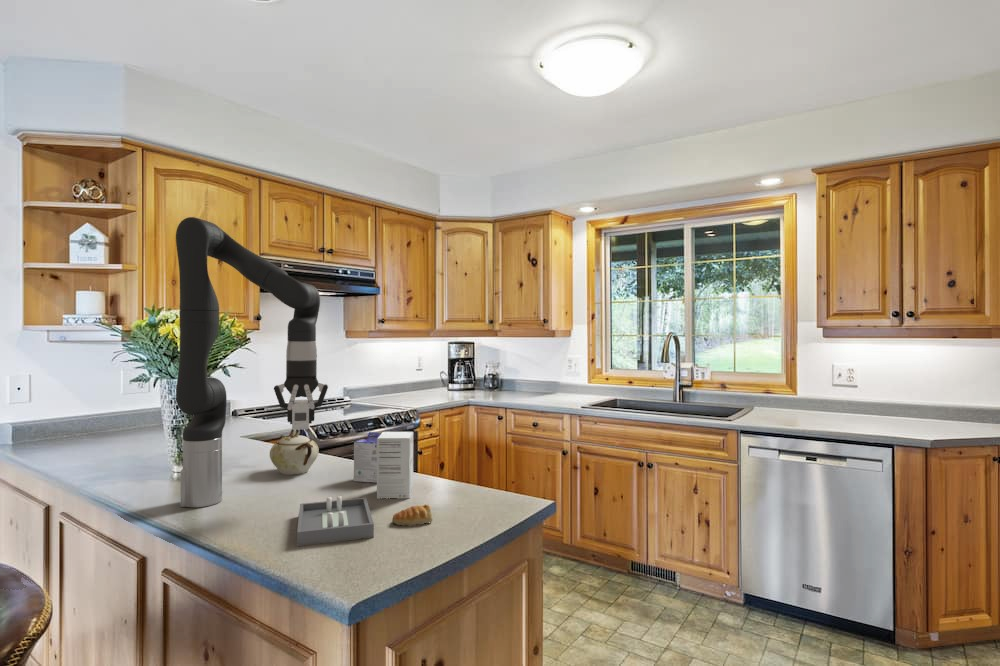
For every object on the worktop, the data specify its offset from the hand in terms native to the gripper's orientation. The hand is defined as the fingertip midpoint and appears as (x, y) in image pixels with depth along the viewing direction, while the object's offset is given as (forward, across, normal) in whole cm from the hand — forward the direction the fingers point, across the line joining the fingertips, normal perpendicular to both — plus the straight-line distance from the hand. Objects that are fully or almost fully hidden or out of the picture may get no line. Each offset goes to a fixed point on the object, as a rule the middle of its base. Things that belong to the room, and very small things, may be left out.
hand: (301, 423), depth 143 cm
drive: (+1, 0, 0) cm, 1 cm away
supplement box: (+22, +25, +2) cm, 33 cm away
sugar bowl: (+22, -3, +36) cm, 42 cm away
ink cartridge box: (+22, +20, +18) cm, 35 cm away
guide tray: (+22, +8, -19) cm, 30 cm away
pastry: (+22, +27, -22) cm, 41 cm away
